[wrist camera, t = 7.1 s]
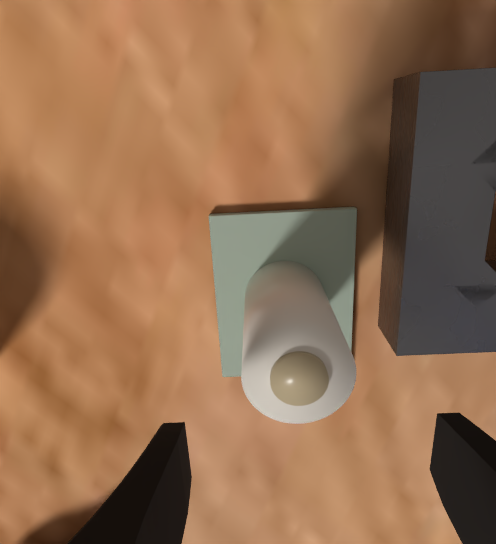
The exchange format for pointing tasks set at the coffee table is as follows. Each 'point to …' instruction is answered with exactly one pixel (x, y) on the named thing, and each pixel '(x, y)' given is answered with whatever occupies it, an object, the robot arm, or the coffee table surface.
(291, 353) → the plug
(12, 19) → the coffee table surface
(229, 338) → the mat
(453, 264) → the housing
